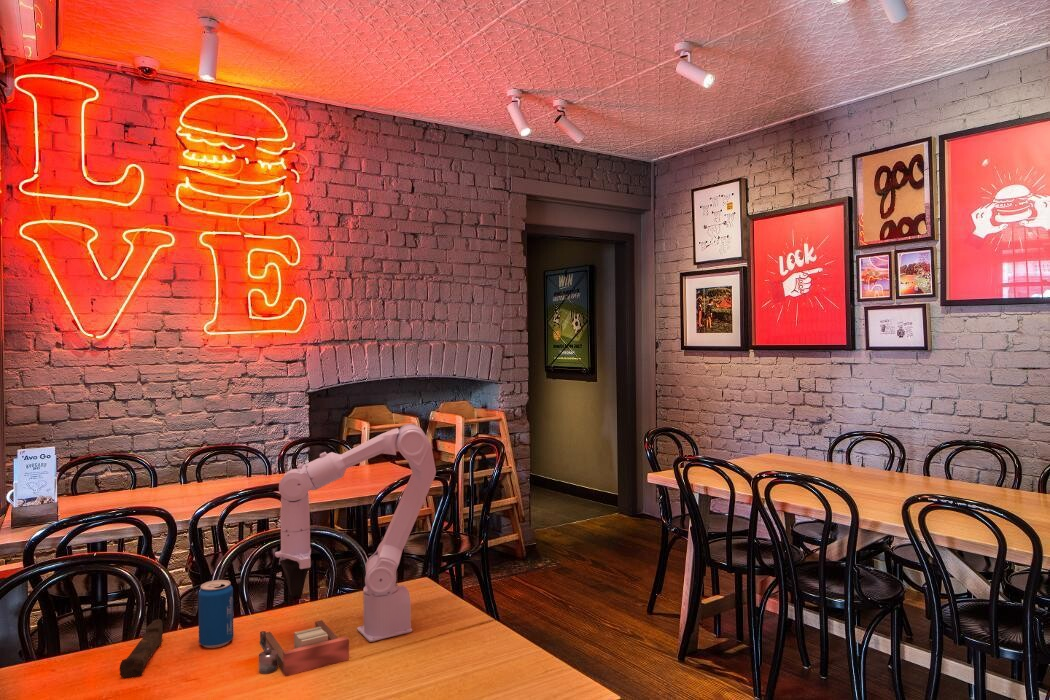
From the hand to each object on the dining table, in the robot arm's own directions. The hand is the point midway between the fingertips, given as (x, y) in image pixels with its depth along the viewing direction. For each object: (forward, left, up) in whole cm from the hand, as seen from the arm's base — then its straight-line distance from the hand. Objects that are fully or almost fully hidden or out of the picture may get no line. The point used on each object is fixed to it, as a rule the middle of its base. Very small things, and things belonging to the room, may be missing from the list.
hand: (296, 594), depth 144 cm
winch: (+8, +9, -9) cm, 15 cm away
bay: (0, +5, -9) cm, 11 cm away
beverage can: (+14, -8, -10) cm, 19 cm away
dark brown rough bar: (+27, -9, -10) cm, 30 cm away
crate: (0, +11, -10) cm, 14 cm away
